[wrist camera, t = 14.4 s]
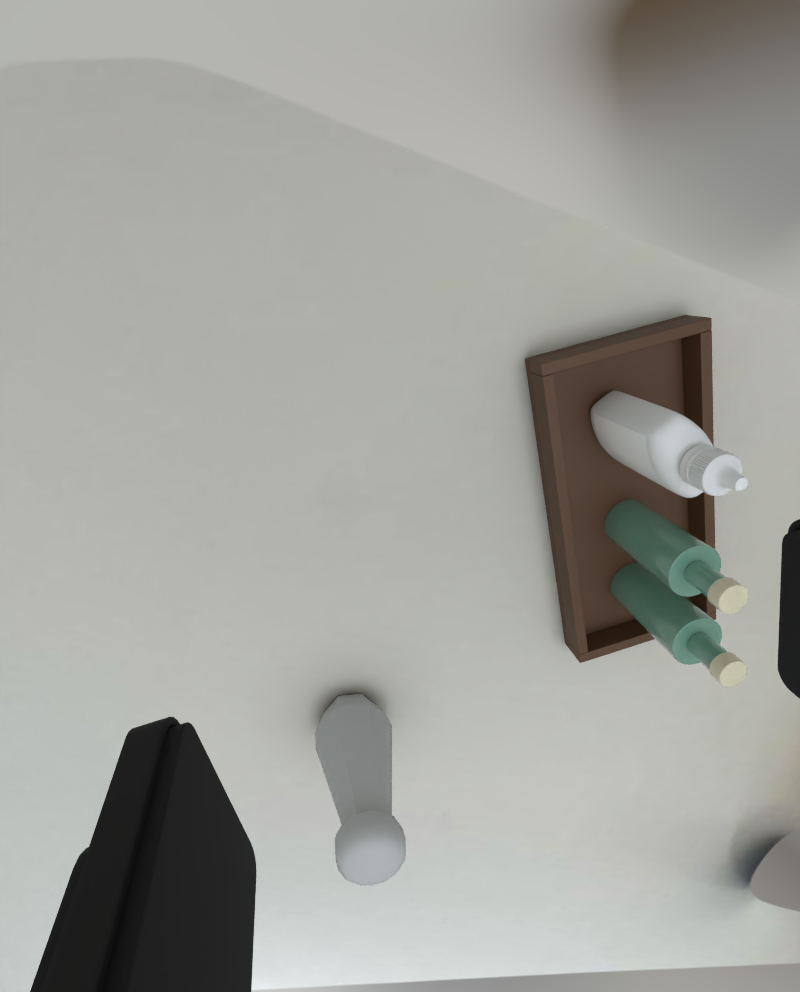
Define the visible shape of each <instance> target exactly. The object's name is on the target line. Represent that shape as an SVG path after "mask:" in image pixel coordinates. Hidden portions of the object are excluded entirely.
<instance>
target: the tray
mask: <svg viewBox="0 0 800 992" xmlns="http://www.w3.org/2000/svg"><path fill="white" fill-rule="evenodd" d="M525 362H526V369H527V376H528V383H529V390H530V397H531V404H532V411H533V418H534V425H535V432H536V439H537V446H538V453H539V461H540V468H541V475H542V482H543V489H544V496H545V503H546V510H547V517H548V524H549V531H550V538H551V545H552V552H553V559H554V566H555V573H556V581H557V588H558V595H559V602H560V609H561V616H562V623H563V630H564V637H565V644H566V645H567V646H568V648H569V649H570V650H571V652H572V653H573V654H574V655H575V657H576V658H577V659H578V661H579V662H580V663H581V662H585V661H588V660H591V659H594V658H597V657H600V656H603V655H606V654H609V653H613V652H616V651H619V650H622V649H625V648H628V647H631V646H634V645H637V644H641V643H644V642H647V641H650V640H653V639H655V638H654V637H653V636H652V635H651V634H650V633H649V632H648V631H647V630H646V629H645V628H644V627H643V626H642V625H641V624H640V623H639V622H637V621H636V620H635V619H634V618H633V617H632V616H631V615H630V614H629V613H628V612H627V611H626V610H625V609H624V608H623V607H622V606H621V605H620V604H619V603H618V602H617V601H616V600H615V599H614V598H613V596H612V594H611V590H610V585H611V581H612V579H613V577H614V575H615V574H616V573H617V571H618V570H620V569H621V568H622V567H624V566H626V565H628V564H631V563H638V562H637V561H635V560H634V559H633V558H632V557H630V556H629V555H628V554H627V553H626V552H624V551H623V550H622V549H621V548H620V547H618V546H617V545H616V544H615V543H613V542H612V541H611V540H610V539H609V538H608V537H607V535H606V533H605V530H604V522H605V519H606V516H607V514H608V513H609V511H610V510H611V509H612V508H613V507H614V506H615V505H616V504H618V503H619V502H621V501H624V500H629V499H634V500H638V501H640V502H642V503H644V504H645V505H647V506H648V507H650V508H651V509H653V510H655V511H656V512H658V513H659V514H661V515H662V516H664V517H665V518H667V519H669V520H670V521H672V522H673V523H675V524H676V525H678V526H679V527H681V528H683V529H684V530H686V531H687V532H689V533H690V534H692V535H693V536H695V537H697V538H698V539H700V540H701V541H703V542H704V543H706V544H707V545H709V546H711V547H712V548H714V549H715V517H714V496H711V495H708V494H706V493H705V492H702V493H701V494H699V495H698V496H696V497H693V498H685V497H683V496H680V495H678V494H676V493H674V492H672V491H670V490H668V489H666V488H665V487H663V486H661V485H659V484H657V483H656V482H654V481H652V480H650V479H648V478H647V477H645V476H643V475H641V474H640V473H638V472H636V471H634V470H632V469H631V468H629V467H627V466H625V465H624V464H622V463H620V462H619V461H617V460H616V459H614V458H613V457H612V456H611V455H609V454H608V453H607V452H606V451H605V450H604V448H603V447H602V446H601V444H600V443H599V441H598V439H597V437H596V435H595V433H594V430H593V427H592V423H591V417H590V411H591V408H592V407H593V405H594V404H595V403H597V402H598V401H599V400H600V399H601V398H603V397H604V396H605V395H607V394H608V393H609V392H611V391H620V392H623V393H625V394H628V395H631V396H634V397H637V398H640V399H642V400H645V401H648V402H651V403H653V404H656V405H659V406H662V407H664V408H667V409H670V410H672V411H675V412H677V413H679V414H681V415H683V416H685V417H687V418H688V419H690V420H691V421H692V422H694V423H695V424H696V425H697V426H698V427H700V428H701V429H702V430H703V432H704V433H705V434H706V435H707V437H708V438H709V440H710V441H711V443H712V445H713V390H712V331H711V318H707V317H698V316H689V315H684V316H681V317H677V318H673V319H670V320H666V321H662V322H658V323H655V324H651V325H647V326H644V327H640V328H636V329H633V330H629V331H625V332H622V333H618V334H614V335H611V336H607V337H603V338H600V339H596V340H592V341H588V342H585V343H581V344H577V345H574V346H570V347H566V348H563V349H559V350H555V351H552V352H548V353H544V354H541V355H537V356H533V357H530V358H526V359H525ZM686 598H688V599H689V600H690V601H691V602H692V603H694V604H695V605H696V606H697V607H699V608H700V609H701V610H702V611H704V612H705V613H706V614H707V615H709V616H710V617H711V618H712V619H713V620H715V619H716V607H715V606H713V605H712V604H711V603H710V602H709V600H708V598H707V597H706V596H705V595H703V594H702V593H700V594H698V595H695V596H690V597H686Z"/></svg>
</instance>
